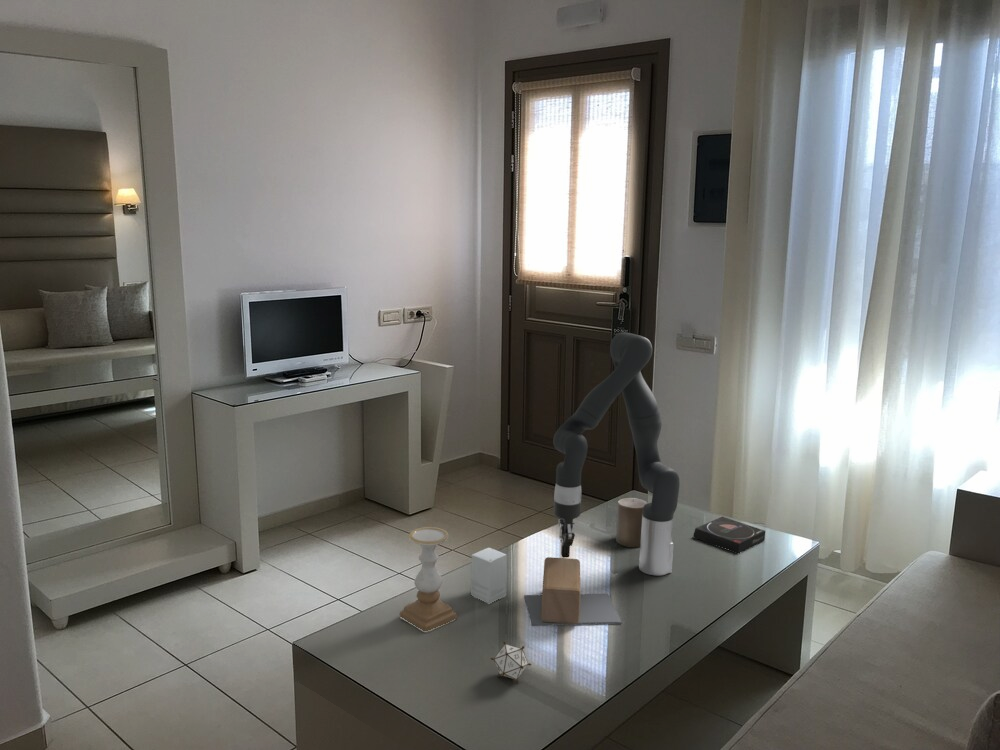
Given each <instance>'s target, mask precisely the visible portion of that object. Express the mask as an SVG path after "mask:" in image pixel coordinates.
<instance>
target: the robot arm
mask: <svg viewBox="0 0 1000 750" xmlns="http://www.w3.org/2000/svg"><path fill="white" fill-rule="evenodd" d="M609 349H610V350H609V351H610V357H611V360H612V363H613V366H614V370H613V371H612V372H611V373H610V374H609V375H608V376H607V377H606V378H605V379H603V380H602V381H601V382H599V383H598V384H597V385H596V386H594V387H593V388H592V389H591V390H590V391H589V392H588V394H587V395H586V396H585V397H584V398H583V400H582V401H581V403H580V404H579V406H578V408H577V409H576V411H575V412H574V413H573V414H572V415H571V416H570V417H568V419H566V420H565V421H564V422H563V423H562V425H560V426H559V427H558V429H556V432H555V433H554V436H553V440H552V443H553V446H554V448H555V450H557V451H558V452H560V453H561V454H563V455H564V460H563V461H560V462H559V463H558V464H557V466H556V470H555V475H556V476H555V487H554V495H553V496H554V499H553V502H554V503H553V514H554V516H555V517H557V518H558V519H557V521H558V530H559V532H558V533H559V539H560V543H561V547H560V555H561V558H569V557H570V553H571V551H570V550H571V546H573V543H574V540H575V536H576V534H575V532H574V530H575V526H576V525H575V522H574V520H575V519H577V518H578V517H580V515H581V512H582V511H581V507H582V505H581V504H582V470H583V467H584V465H585V461H586V458H587V453H588V449H589V448H588V447H589V446H588V440H587V438H586V437H585V436H584V435H583V433H584V432H586V431H587V430H594V429H595V428H596V427H597V426H598V425H599V423H600V422H601V420H602V419H603V417H604V415H605V414H606V413H607V411H608V410H609V408H610V407H611V405H612V404H613V402H614V401H615V400H616V399H617V397H618V396H619V395H620V394H621V393H622V397H623V401H624V404H625V408H626V409H625V410H626V415H627V418H628V419H627V420H628V424H629V428H630V430H631V434H632V440H633V441H632V442H633V445H634V449H635V453H636V454H635V455H636V461H637V470H638V477H639V483H640V484H641V486H642V487H643V488H644V489H645V491H647V492H648V493H650V494H652V496H651V497H652V498H651V502H647V504H645V505H644V507H643V512H642V528H641V543H640V547H639V560H638V569H639V571H641V572H642V573H644V574H647V575H651V576H664V575H667V574H672V571H673V557H674V542H673V541H672V539H673V529H674V528H673V526H674V516H675V515H674V514H675V512H676V510H677V508H678V507H677V506H678V502H679V493H680V484H681V483H680V477H679V473H678V472H677V471H676V470H674V469H673V468H671V467H669V466H667V465H665V464H663V462H662V460H661V457H660V453H659V447H658V442H659V441H658V440H659V438H660V435H661V431H662V426H663V425H662V416H661V413H660V407H659V405H658V402H657V400H656V399H657V398H656V396H655V395H654V394H653V391H652V390H651V388H650V387H649V385H648V384H647V382H646V380H645V378H644V377H643V374H642V372H641V371H642V370H643V368H645V366H646V365H647V364H648V363H649V361H650V359H651V358H652V355H653V345H652V342H651V341H650V340H649V339H648V338H647V337H645V336H642V335H639V334H635V333H631V332H624V331H623V332H619V333H616V334H615V335H614V337H613V338H612V339H611V342H610V347H609Z"/></svg>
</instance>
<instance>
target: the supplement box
mask: <svg viewBox="0 0 1000 750" xmlns="http://www.w3.org/2000/svg"><path fill="white" fill-rule="evenodd" d="M470 566H471V569H470V570H471V571H470V572H471V575H470V576H471V577H470V578H471V579H470V580H471V581H470V583H471V584H470V585H471V588H470V591H471V593H470V594H471V595H472V596H474V597H473V598H475V597H476V598H475V599H477V598H478V599H477V600H479V599H480V600H479V601H481V600H482V601H481V602H483V601H484V603H485V602H486V604H488V603H489V604H488V605H491V604H493V603H495V602H497V601H499V600H501V599H503V598H505V597H507V580H508V574H507V573H508V569H507V568H508V567H507V566H508V554H506V553H503V552H501V551H499V550H496V549H494V548H491V547H487V548H484V549H481V550H479V551H478V552H475V553H473V554H471V565H470ZM471 595H470V596H471ZM472 596H471V597H472ZM498 599H499V600H498ZM496 600H497V601H496ZM494 601H495V602H494ZM492 602H493V603H492ZM490 603H491V604H490Z"/></svg>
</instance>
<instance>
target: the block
mask: <svg viewBox="0 0 1000 750" xmlns="http://www.w3.org/2000/svg"><path fill="white" fill-rule="evenodd" d="M543 563H544V564H543V576H542V577H543V578H542V588H541V589H542V590H541V591H542V592H541V595H542V611H541V618H542V621H544V622H554V623H569V624H577V623H578V622H579V617H580V597H581V594H582V586H581V562H580V560H579V559H578V558H569V557H564V558H563V557H550V556H548V557H545V558H544V561H543Z"/></svg>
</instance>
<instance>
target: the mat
mask: <svg viewBox="0 0 1000 750" xmlns="http://www.w3.org/2000/svg"><path fill="white" fill-rule="evenodd" d="M523 597H524V601H525V605H526V608H527V613H528V617H529V621H530V624H531V625H530V626H532V627H539V626H542V627H543V626H545V627H546V626H548V627H549V626H582V625H583V626H584V625H586V626H587V625H588V626H589V625H590V626H591V625H622V623H623V622H622V620H621V618H620V616H619V613H618V611H617V609H616V607H615V605H614V603H613V601H612V598H611V597H610V594H609V593H608V592H607V593H605V592H604V593H581V597H580V617H579V622H578V623H577V624H569V623H554V622H544V621H542V618H541V611H542V594H524V595H523Z"/></svg>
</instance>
